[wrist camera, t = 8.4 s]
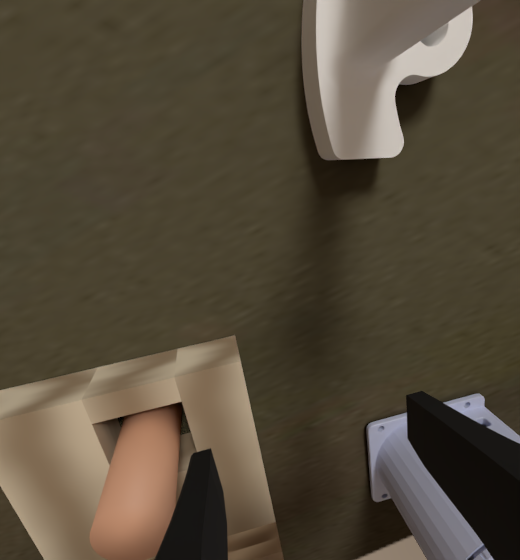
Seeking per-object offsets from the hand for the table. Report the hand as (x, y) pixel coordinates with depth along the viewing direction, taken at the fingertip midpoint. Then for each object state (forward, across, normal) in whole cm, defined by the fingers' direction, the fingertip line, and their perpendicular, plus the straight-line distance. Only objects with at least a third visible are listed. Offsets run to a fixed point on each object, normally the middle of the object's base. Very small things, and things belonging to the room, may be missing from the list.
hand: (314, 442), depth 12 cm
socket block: (+10, +9, +8) cm, 16 cm away
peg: (+10, +8, +4) cm, 13 cm away
